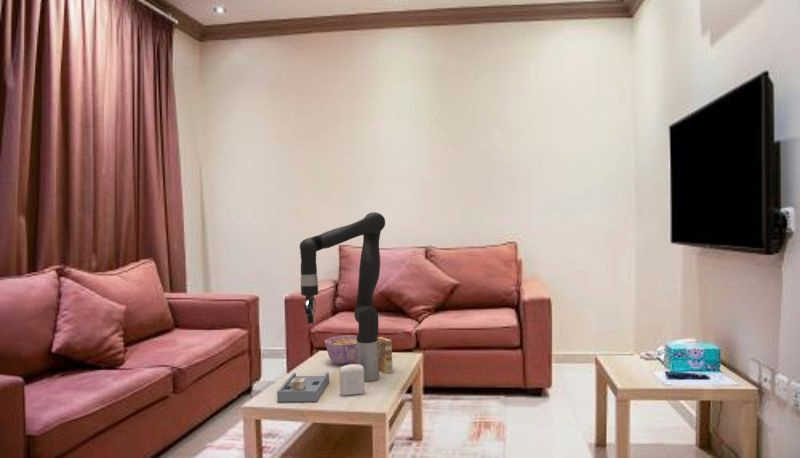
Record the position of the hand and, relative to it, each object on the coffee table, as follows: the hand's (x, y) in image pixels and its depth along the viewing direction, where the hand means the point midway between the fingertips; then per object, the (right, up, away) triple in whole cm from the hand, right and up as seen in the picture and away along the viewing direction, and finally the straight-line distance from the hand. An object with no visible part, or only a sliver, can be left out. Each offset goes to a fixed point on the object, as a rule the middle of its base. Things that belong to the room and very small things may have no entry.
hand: (310, 323), depth 259 cm
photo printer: (+20, -27, -15) cm, 37 cm away
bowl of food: (+12, -25, +33) cm, 44 cm away
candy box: (+32, -26, +17) cm, 44 cm away
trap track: (-1, -28, -11) cm, 30 cm away
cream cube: (-2, -25, -20) cm, 32 cm away
